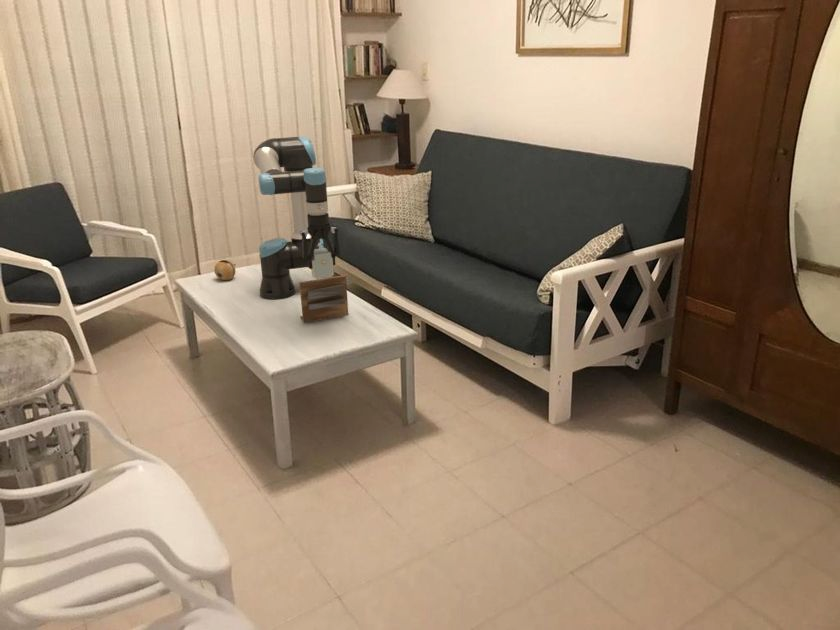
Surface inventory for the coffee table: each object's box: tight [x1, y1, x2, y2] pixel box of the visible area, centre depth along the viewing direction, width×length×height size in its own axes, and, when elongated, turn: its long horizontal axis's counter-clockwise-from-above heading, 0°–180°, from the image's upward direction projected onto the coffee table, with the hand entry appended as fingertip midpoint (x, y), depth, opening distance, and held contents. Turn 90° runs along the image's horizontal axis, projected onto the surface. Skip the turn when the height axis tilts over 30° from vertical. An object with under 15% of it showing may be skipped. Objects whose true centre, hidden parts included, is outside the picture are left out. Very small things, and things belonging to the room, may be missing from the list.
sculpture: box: [214, 259, 237, 282], centre depth 314 cm, size 9×9×15 cm
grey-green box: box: [312, 247, 334, 280], centre depth 250 cm, size 9×6×9 cm
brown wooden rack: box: [298, 274, 349, 323], centre depth 265 cm, size 8×18×16 cm, turn 115°
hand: (322, 275), depth 251 cm, fingers closed on grey-green box, 6 cm apart
